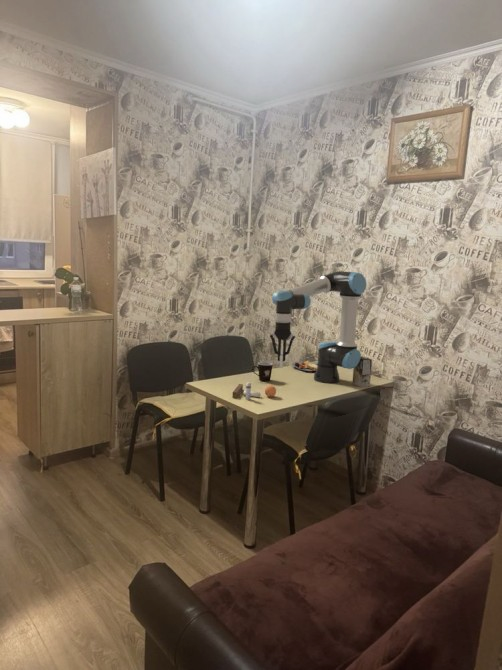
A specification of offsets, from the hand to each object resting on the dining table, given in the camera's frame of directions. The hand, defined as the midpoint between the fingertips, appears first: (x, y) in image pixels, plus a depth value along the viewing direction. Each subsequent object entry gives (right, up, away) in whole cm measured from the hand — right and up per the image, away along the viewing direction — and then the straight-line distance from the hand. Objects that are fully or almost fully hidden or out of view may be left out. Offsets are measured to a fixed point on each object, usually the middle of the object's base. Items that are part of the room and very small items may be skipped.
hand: (281, 367), depth 237 cm
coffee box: (+49, -13, +33) cm, 60 cm away
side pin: (-17, -16, -3) cm, 23 cm away
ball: (-5, -12, +3) cm, 14 cm away
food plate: (+24, -6, +70) cm, 74 cm away
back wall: (-22, -14, +6) cm, 27 cm away
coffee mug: (-9, -10, +35) cm, 38 cm away
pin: (-11, -14, +1) cm, 18 cm away
